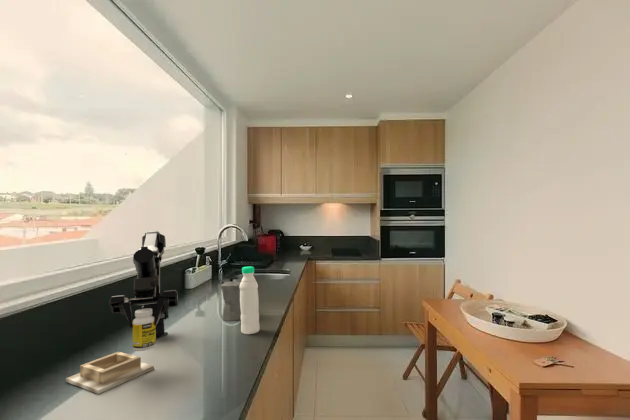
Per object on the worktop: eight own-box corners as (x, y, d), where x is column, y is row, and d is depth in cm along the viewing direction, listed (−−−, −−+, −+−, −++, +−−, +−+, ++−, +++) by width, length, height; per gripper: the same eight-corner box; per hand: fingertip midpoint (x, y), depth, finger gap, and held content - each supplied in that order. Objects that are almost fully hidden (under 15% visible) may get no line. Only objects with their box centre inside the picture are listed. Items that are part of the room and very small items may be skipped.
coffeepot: (249, 318, 152) (248, 277, 152) (230, 323, 146) (229, 280, 146) (231, 312, 163) (230, 274, 164) (213, 316, 157) (211, 277, 157)
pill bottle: (143, 352, 98) (142, 313, 99) (128, 350, 101) (126, 312, 101) (160, 345, 104) (159, 308, 104) (145, 342, 107) (144, 306, 107)
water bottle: (242, 329, 137) (239, 266, 137) (260, 328, 137) (257, 265, 138) (239, 335, 130) (237, 268, 130) (258, 334, 130) (256, 267, 131)
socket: (66, 381, 97) (65, 367, 97) (121, 360, 111) (121, 347, 111) (98, 394, 89) (97, 378, 89) (153, 369, 103) (153, 355, 103)
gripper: (109, 269, 103) (101, 316, 93) (176, 264, 110) (176, 307, 99) (115, 290, 111) (108, 336, 100) (177, 284, 117) (178, 327, 107)
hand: (143, 326), depth 101 cm, fingers closed on pill bottle, 6 cm apart
